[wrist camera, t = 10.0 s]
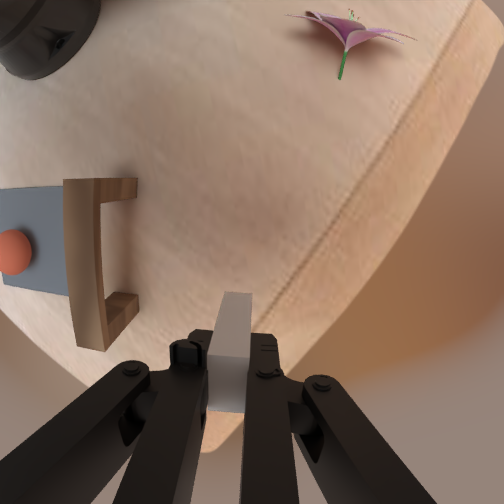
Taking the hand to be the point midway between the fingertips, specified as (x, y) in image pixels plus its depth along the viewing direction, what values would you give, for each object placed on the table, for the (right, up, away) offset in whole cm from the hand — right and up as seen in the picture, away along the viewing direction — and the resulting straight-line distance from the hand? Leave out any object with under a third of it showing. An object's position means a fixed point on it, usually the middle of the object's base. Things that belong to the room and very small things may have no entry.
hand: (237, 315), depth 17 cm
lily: (+10, +25, +9) cm, 29 cm away
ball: (-28, +3, +12) cm, 30 cm away
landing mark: (-27, +5, +14) cm, 31 cm away
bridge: (-13, +4, +14) cm, 19 cm away
